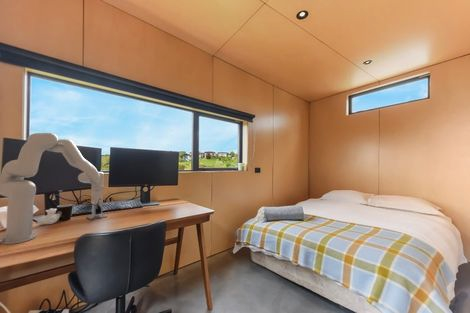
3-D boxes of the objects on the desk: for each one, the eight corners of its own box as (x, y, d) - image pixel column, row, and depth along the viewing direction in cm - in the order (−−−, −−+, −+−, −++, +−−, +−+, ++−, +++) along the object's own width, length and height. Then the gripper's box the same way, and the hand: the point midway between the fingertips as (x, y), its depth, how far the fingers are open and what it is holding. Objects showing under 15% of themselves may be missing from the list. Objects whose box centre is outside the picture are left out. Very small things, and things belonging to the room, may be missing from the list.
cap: (94, 215, 143) (94, 205, 144) (91, 213, 147) (92, 204, 147) (102, 213, 148) (102, 204, 148) (99, 212, 151) (100, 203, 151)
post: (90, 220, 140) (91, 210, 140) (86, 217, 146) (86, 207, 146) (106, 217, 148) (107, 207, 148) (102, 214, 154) (102, 205, 154)
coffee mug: (74, 219, 141) (75, 205, 141) (59, 222, 133) (59, 207, 133) (68, 216, 147) (68, 203, 147) (53, 219, 140) (53, 205, 140)
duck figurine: (38, 230, 125) (44, 217, 123) (33, 221, 127) (39, 208, 125) (60, 224, 136) (67, 212, 134) (55, 216, 138) (62, 204, 136)
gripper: (88, 187, 150) (87, 211, 150) (95, 190, 139) (94, 216, 139) (99, 186, 156) (98, 210, 155) (107, 189, 145) (106, 214, 145)
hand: (96, 212), depth 147 cm, fingers closed on cap, 5 cm apart
